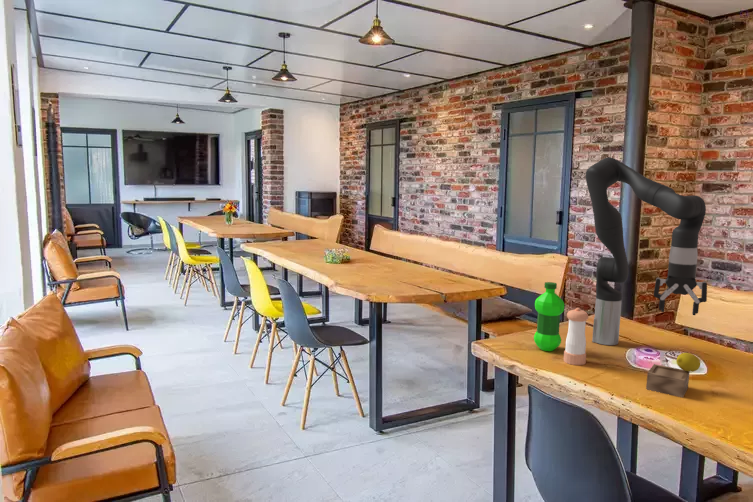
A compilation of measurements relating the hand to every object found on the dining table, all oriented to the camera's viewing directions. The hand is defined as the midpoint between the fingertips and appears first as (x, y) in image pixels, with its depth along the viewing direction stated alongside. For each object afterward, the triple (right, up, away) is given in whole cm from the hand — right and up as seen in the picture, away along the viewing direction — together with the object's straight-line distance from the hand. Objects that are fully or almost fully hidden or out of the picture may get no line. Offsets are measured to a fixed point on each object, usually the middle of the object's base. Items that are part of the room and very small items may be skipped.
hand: (678, 313), depth 172 cm
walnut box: (-4, -23, -1) cm, 24 cm away
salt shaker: (-24, -20, +22) cm, 38 cm away
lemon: (-2, -14, -2) cm, 14 cm away
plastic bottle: (-30, -18, +36) cm, 50 cm away
